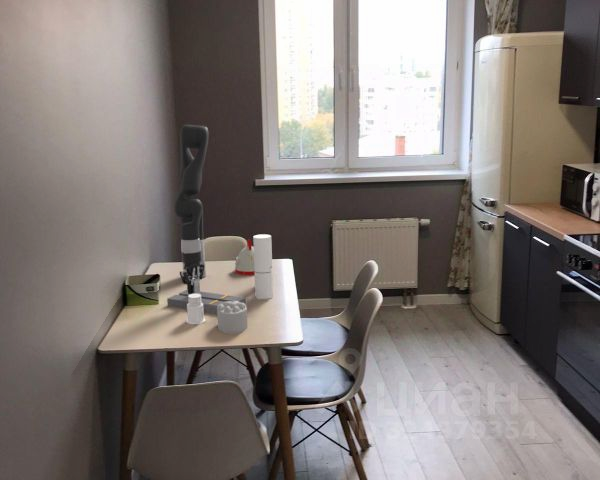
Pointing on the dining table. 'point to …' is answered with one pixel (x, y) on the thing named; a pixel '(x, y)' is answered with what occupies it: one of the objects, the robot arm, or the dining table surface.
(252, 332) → the dining table surface
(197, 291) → the fader knob
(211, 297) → the fader console
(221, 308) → the lumpy-topped squat cylinder
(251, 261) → the kitchen timer
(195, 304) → the downlight
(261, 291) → the cylindrical container
